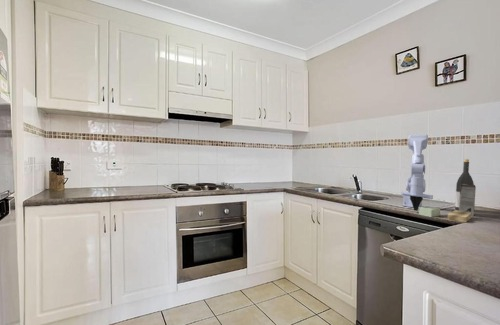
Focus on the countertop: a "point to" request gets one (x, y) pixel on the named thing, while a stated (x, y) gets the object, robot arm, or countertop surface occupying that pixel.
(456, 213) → the bamboo board
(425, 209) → the sage block
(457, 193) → the wine bottle
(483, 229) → the countertop surface
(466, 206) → the coffee box
